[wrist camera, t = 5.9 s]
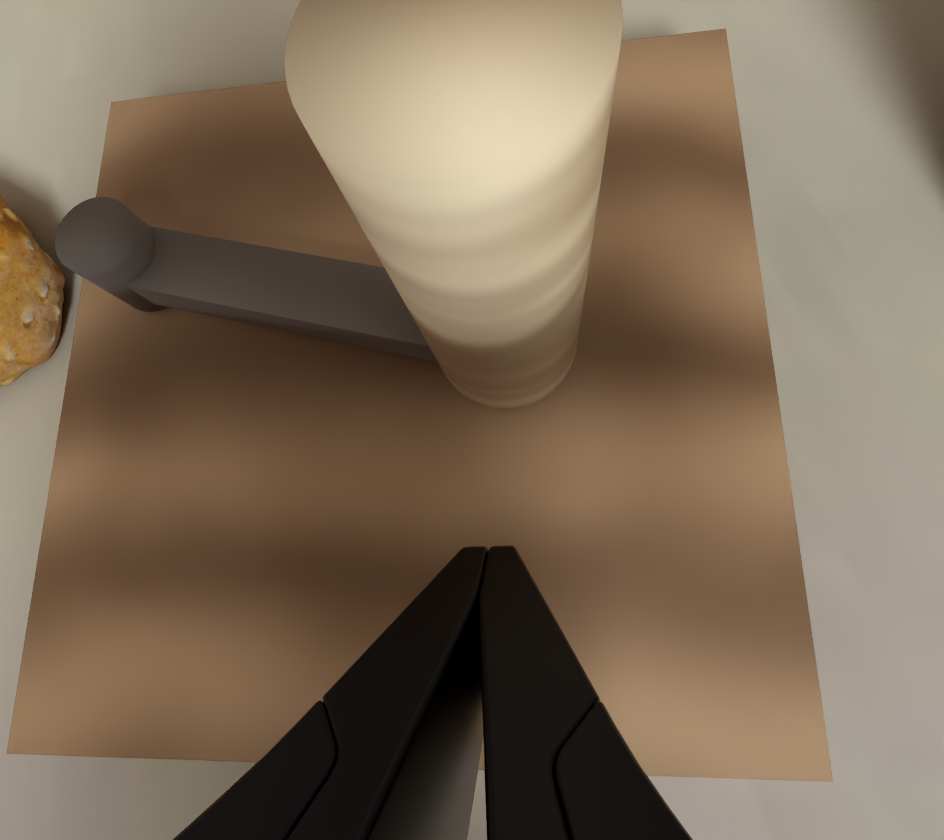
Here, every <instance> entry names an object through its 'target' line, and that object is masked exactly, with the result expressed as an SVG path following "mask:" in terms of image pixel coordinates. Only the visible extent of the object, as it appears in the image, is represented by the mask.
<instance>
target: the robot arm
mask: <svg viewBox="0 0 944 840" xmlns="http://www.w3.org/2000/svg"><path fill="white" fill-rule="evenodd" d="M322 700H323V702H322V701H321V700H319V701H317V702H316V703H315V704H314V705H313V706H312V707H311V708H310V709H309V710H308V712H307V713H306V714H305V715H304V716H303V717H302V718H301V719H300V720H299V721H298V722H297V723H296V724H295V725H294V726H293V727H292V728H291V729H290V730H289V731H288V732H287V733H286V734H285V735H284V736H283V737H282V738H281V739H280V740H279V741H278V742H277V744H276V745H275V746H274V747H273V748H272V749H271V750H270V751H269V752H268V753H267V754H266V755H265V756H264V757H263V758H262V759H260V760H259V761H258V762H257V763H256V764H255V765H254V766H253V767H252V768H251V769H250V770H249V771H248V772H247V773H245V774H244V775H243V776H242V777H241V778H240V779H239V780H238V781H237V782H236V783H235V784H234V785H233V786H232V787H230V788H229V789H228V790H227V791H226V792H225V793H224V794H223V795H222V796H221V797H220V798H219V799H217V800H216V801H215V802H214V803H213V804H212V805H211V806H210V807H209V808H207V809H206V810H205V811H204V812H203V813H202V814H201V815H200V816H199V817H197V818H196V819H195V820H194V821H193V822H192V823H191V824H190V825H189V826H187V827H186V828H185V829H184V830H183V831H182V832H181V833H180V834H179V835H177V836H176V837H175V838H174V839H173V840H467V835H468V829H469V822H470V816H471V810H472V804H473V798H474V792H475V785H476V779H477V773H478V767H479V761H480V755H481V748H482V742H483V739H484V766H485V793H486V820H487V840H692V838H691V837H690V835H689V834H688V833H687V831H686V830H685V829H684V827H683V826H682V825H681V823H680V822H679V820H678V819H677V818H676V816H675V815H674V814H673V812H672V811H671V810H670V808H669V807H668V805H667V804H666V802H665V801H664V800H663V798H662V797H661V795H660V794H659V792H658V791H657V789H656V788H655V787H654V785H653V784H652V782H651V781H650V779H649V778H648V776H647V775H646V774H645V772H644V771H643V769H642V768H641V766H640V765H639V763H638V762H637V760H636V758H635V757H634V755H633V753H632V752H631V750H630V748H629V747H628V745H627V743H626V742H625V740H624V738H623V737H622V735H621V733H620V732H619V730H618V729H617V727H616V725H615V723H614V722H613V720H612V718H611V716H610V714H609V713H608V711H607V709H606V707H605V706H604V704H603V703H602V702H600V698H599V696H598V694H597V692H596V691H595V689H594V687H593V685H592V683H591V682H590V680H589V678H588V676H587V675H586V673H585V671H584V669H583V667H582V666H581V664H580V662H579V660H578V658H577V657H576V655H575V653H574V651H573V649H572V648H571V646H570V644H569V642H568V640H567V639H566V637H565V635H564V633H563V631H562V630H561V628H560V626H559V624H558V622H557V621H556V619H555V617H554V615H553V613H552V612H551V610H550V608H549V606H548V604H547V603H546V601H545V599H544V597H543V595H542V594H541V592H540V590H539V588H538V587H537V585H536V583H535V581H534V579H533V578H532V576H531V574H530V572H529V570H528V569H527V567H526V565H525V563H524V561H523V560H522V558H521V556H520V554H519V552H518V551H517V549H516V548H515V546H513V545H503V546H491V547H490V548H489V550H488V548H487V547H485V546H473V547H463V548H462V549H460V551H459V552H458V553H457V554H456V555H455V556H454V557H453V558H452V559H451V560H450V561H449V562H448V563H447V564H446V565H445V567H444V568H443V569H442V570H441V571H440V572H439V573H438V574H437V575H436V576H435V577H434V578H433V579H432V580H431V581H430V583H429V584H428V585H427V586H426V587H425V588H424V589H423V590H422V591H421V592H420V593H419V594H418V595H417V596H416V597H415V599H414V600H413V601H412V602H411V603H410V604H409V605H408V606H407V607H406V608H405V609H404V610H403V611H402V612H401V614H400V615H399V616H398V617H397V618H396V619H395V620H394V621H393V622H392V623H391V624H390V625H389V626H388V627H387V628H386V630H385V631H384V632H383V633H382V634H381V635H380V636H379V637H378V638H377V639H376V640H375V641H374V642H373V643H372V644H371V646H370V647H369V648H368V649H367V650H366V651H365V652H364V653H363V654H362V655H361V656H360V657H359V658H358V659H357V660H356V662H355V663H354V664H353V665H352V666H351V667H350V668H349V669H348V670H347V671H346V672H345V673H344V674H343V675H342V677H341V678H340V679H339V680H338V681H337V682H336V683H335V684H334V685H333V686H332V687H331V688H330V689H329V690H328V691H327V693H326V694H325V695H324V696H323V698H322Z"/></svg>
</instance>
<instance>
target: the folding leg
mask: <svg viewBox="0 0 944 840" xmlns="http://www.w3.org/2000/svg"><path fill="white" fill-rule="evenodd" d="M622 32H623V9H622V4H621V0H301V1H300V3H299V5H298V7H297V10H296V12H295V14H294V16H293V19H292V22H291V26H290V29H289V32H288V35H287V42H286V49H285V76H286V82H287V89H288V92H289V95H290V98H291V101H292V104H293V106H294V108H295V110H296V112H297V114H298V116H299V118H300V120H301V122H302V123H303V125H304V127H305V129H306V130H307V132H308V134H309V136H310V138H311V139H312V141H313V143H314V145H315V146H316V148H317V150H318V152H319V153H320V155H321V157H322V159H323V160H324V162H325V164H326V166H327V167H328V169H329V171H330V173H331V174H332V176H333V178H334V180H335V182H336V183H337V185H338V187H339V189H340V190H341V192H342V194H343V196H344V197H345V199H346V201H347V203H348V204H349V206H350V208H351V210H352V211H353V213H354V215H355V217H356V218H357V220H358V222H359V224H360V226H361V227H362V229H363V231H364V233H365V234H366V236H367V238H368V240H369V241H370V243H371V245H372V247H373V248H374V250H375V252H376V254H377V255H378V257H379V259H380V261H381V262H382V264H383V266H384V267H379V266H373V265H367V264H362V263H356V262H350V261H345V260H339V259H333V258H328V257H322V256H316V255H310V254H305V253H299V252H293V251H288V250H282V249H276V248H271V247H265V246H259V245H254V244H248V243H242V242H237V241H231V240H225V239H220V238H214V237H208V236H202V235H197V234H191V233H185V232H180V231H174V230H168V229H163V228H157V227H151V226H149V225H148V224H147V223H145V222H144V221H143V220H142V219H140V218H139V217H138V216H137V215H136V214H134V213H133V212H132V211H131V210H130V209H128V208H127V207H126V206H125V205H124V204H122V203H121V202H120V201H118V200H116V199H113V198H109V197H96V198H92V199H88V200H86V201H84V202H82V203H80V204H78V205H77V206H75V207H74V208H73V209H72V210H70V212H69V213H68V214H67V215H66V216H65V217H64V218H63V220H62V222H61V223H60V225H59V227H58V230H57V232H56V236H55V251H56V254H57V257H58V259H59V260H60V262H61V263H62V264H63V265H64V266H65V267H67V268H68V269H70V270H72V271H73V272H75V273H77V274H78V275H80V276H82V277H83V278H85V279H87V280H88V281H90V282H92V283H93V284H95V285H97V286H98V287H100V288H102V289H104V290H105V291H107V292H109V293H110V294H112V295H114V296H115V297H117V298H119V299H120V300H122V301H124V302H125V303H127V304H129V305H130V306H132V307H134V308H135V309H138V310H140V311H144V312H155V311H159V310H162V309H165V308H167V307H171V308H176V309H181V310H186V311H190V312H195V313H200V314H205V315H210V316H215V317H220V318H225V319H230V320H235V321H239V322H244V323H249V324H254V325H259V326H264V327H269V328H274V329H279V330H284V331H289V332H293V333H298V334H303V335H308V336H313V337H318V338H323V339H328V340H333V341H338V342H342V343H347V344H352V345H357V346H362V347H367V348H372V349H377V350H382V351H387V352H391V353H396V354H401V355H406V356H411V357H416V358H421V359H426V360H431V361H436V362H438V363H439V365H440V366H441V368H442V370H443V372H444V373H445V375H446V377H447V379H448V380H449V381H450V383H451V384H452V385H453V386H454V387H455V389H456V390H457V391H458V392H460V393H461V394H462V395H463V396H465V397H466V398H468V399H469V400H471V401H473V402H475V403H477V404H480V405H483V406H486V407H490V408H496V409H514V408H520V407H525V406H528V405H531V404H533V403H536V402H538V401H540V400H542V399H544V398H545V397H547V396H548V395H549V394H551V393H552V392H553V391H554V390H555V389H556V388H558V387H559V385H560V384H561V383H562V382H563V381H564V379H565V378H566V376H567V375H568V373H569V371H570V369H571V367H572V365H573V362H574V359H575V355H576V349H577V343H578V336H579V329H580V322H581V315H582V308H583V301H584V294H585V287H586V280H587V274H588V267H589V260H590V253H591V246H592V239H593V232H594V225H595V218H596V211H597V205H598V198H599V191H600V184H601V177H602V170H603V163H604V156H605V149H606V142H607V136H608V129H609V122H610V115H611V108H612V101H613V94H614V87H615V80H616V73H617V67H618V60H619V53H620V46H621V39H622Z"/></svg>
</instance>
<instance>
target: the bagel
mask: <svg viewBox="0 0 944 840" xmlns="http://www.w3.org/2000/svg"><path fill="white" fill-rule="evenodd" d="M64 284H65V279H64V276H63V274H62V272H61V271H60V270H59V268H58V266H57V265H56V264H55V263H54V261H53V260H52V259H51V257H49V255H48V254H47V253H45V252H43V250H42V249H41V247H40V246H39V244H38V243H37V242H36V241H35V239H34V238H33V233H32V232H31V231H29V230H28V229H27V227H26V225H25V224H24V223H23V222H22V221H21V219H20V218H19V217H18V216H17V215H16V214H15V213H14V212H13V211H12V210H11V209H10V207H9V206H8V205H7V204H6V202H5V201H4V199H3V198H2V197H1V196H0V386H1V385H8V384H11V383H12V382H13V381H14V380H15V379H17V378H18V377H20V376H21V375H22V374H23V373H24V372H26V371H27V369H29V368H31V367H34V366H37V365H39V364H41V363H43V362H45V361H47V360H48V359H49V358H50V356H51V355H52V353H53V352H54V350H55V348H56V345H57V343H58V341H59V337H60V332H61V324H62V323H61V322H62V305H63V301H64V297H63V296H64V295H63V287H64Z"/></svg>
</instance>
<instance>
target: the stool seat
mask: <svg viewBox="0 0 944 840" xmlns="http://www.w3.org/2000/svg"><path fill="white" fill-rule="evenodd" d="M96 197H109V198H113V199H116V200H118V201H120V202H121V203H122V204H124V205H125V206H126V207H127V208H128V209H130V210H131V211H132V212H133V213H134V214H136V215H137V216H138V217H139V218H140V219H142V220H143V221H144V222H145V223H147V224H148V225H149V226H151V227H157V228H163V229H168V230H174V231H180V232H185V233H191V234H197V235H202V236H208V237H214V238H220V239H225V240H231V241H237V242H242V243H248V244H254V245H259V246H265V247H271V248H276V249H282V250H288V251H293V252H299V253H305V254H310V255H316V256H322V257H328V258H333V259H339V260H345V261H350V262H356V263H362V264H367V265H373V266H379V267H384V266H383V264H382V262H381V261H380V259H379V257H378V255H377V254H376V252H375V250H374V248H373V247H372V245H371V243H370V241H369V240H368V238H367V236H366V234H365V233H364V231H363V229H362V227H361V226H360V224H359V222H358V220H357V218H356V217H355V215H354V213H353V211H352V210H351V208H350V206H349V204H348V203H347V201H346V199H345V197H344V196H343V194H342V192H341V190H340V189H339V187H338V185H337V183H336V182H335V180H334V178H333V176H332V174H331V173H330V171H329V169H328V167H327V166H326V164H325V162H324V160H323V159H322V157H321V155H320V153H319V152H318V150H317V148H316V146H315V145H314V143H313V141H312V139H311V138H310V136H309V134H308V132H307V130H306V129H305V127H304V125H303V123H302V122H301V120H300V118H299V116H298V114H297V112H296V110H295V108H294V106H293V104H292V101H291V98H290V95H289V92H288V89H287V82H286V81H284V82H276V83H267V84H259V85H251V86H242V87H234V88H226V89H217V90H209V91H201V92H192V93H184V94H176V95H167V96H159V97H151V98H142V99H134V100H125V101H117V102H111V107H110V114H109V120H108V126H107V132H106V138H105V145H104V151H103V157H102V163H101V170H100V176H99V182H98V188H97V194H96ZM503 545H513V546H515V548H516V549H517V551H518V552H519V554H520V556H521V558H522V560H523V561H524V563H525V565H526V567H527V569H528V570H529V572H530V574H531V576H532V578H533V579H534V581H535V583H536V585H537V587H538V588H539V590H540V592H541V594H542V595H543V597H544V599H545V601H546V603H547V604H548V606H549V608H550V610H551V612H552V613H553V615H554V617H555V619H556V621H557V622H558V624H559V626H560V628H561V630H562V631H563V633H564V635H565V637H566V639H567V640H568V642H569V644H570V646H571V648H572V649H573V651H574V653H575V655H576V657H577V658H578V660H579V662H580V664H581V666H582V667H583V669H584V671H585V673H586V675H587V676H588V678H589V680H590V682H591V683H592V685H593V687H594V689H595V691H596V692H597V694H598V696H599V698H600V702H602V703H603V704H604V706H605V707H606V709H607V711H608V713H609V714H610V716H611V718H612V720H613V722H614V723H615V725H616V727H617V729H618V730H619V732H620V733H621V735H622V737H623V738H624V740H625V742H626V743H627V745H628V747H629V748H630V750H631V752H632V753H633V755H634V757H635V758H636V760H637V762H638V763H639V765H640V766H641V768H642V769H643V771H644V772H645V774H646V775H648V776H677V777H706V778H735V779H764V780H793V781H823V782H833V779H832V772H831V765H830V758H829V751H828V744H827V737H826V730H825V723H824V716H823V708H822V701H821V694H820V687H819V680H818V673H817V666H816V659H815V652H814V645H813V638H812V631H811V624H810V617H809V610H808V603H807V596H806V589H805V582H804V575H803V568H802V561H801V554H800V547H799V540H798V533H797V526H796V519H795V512H794V505H793V498H792V491H791V484H790V477H789V470H788V463H787V456H786V449H785V442H784V435H783V428H782V421H781V414H780V406H779V399H778V392H777V385H776V378H775V371H774V364H773V357H772V350H771V343H770V336H769V329H768V322H767V315H766V308H765V301H764V294H763V287H762V280H761V273H760V266H759V259H758V252H757V245H756V238H755V231H754V224H753V217H752V210H751V203H750V196H749V189H748V182H747V175H746V168H745V161H744V154H743V147H742V140H741V133H740V126H739V119H738V112H737V105H736V97H735V90H734V83H733V76H732V69H731V62H730V55H729V48H728V41H727V34H726V29H718V30H710V31H702V32H693V33H685V34H677V35H668V36H660V37H652V38H643V39H635V40H627V41H621V46H620V53H619V60H618V67H617V73H616V80H615V87H614V94H613V101H612V108H611V115H610V122H609V129H608V136H607V142H606V149H605V156H604V163H603V170H602V177H601V184H600V191H599V198H598V205H597V211H596V218H595V225H594V232H593V239H592V246H591V253H590V260H589V267H588V274H587V280H586V287H585V294H584V301H583V308H582V315H581V322H580V329H579V336H578V343H577V349H576V355H575V359H574V362H573V365H572V367H571V369H570V371H569V373H568V375H567V376H566V378H565V379H564V381H563V382H562V383H561V384H560V385H559V387H558V388H556V389H555V390H554V391H553V392H552V393H551V394H549V395H548V396H547V397H545V398H544V399H542V400H540V401H538V402H536V403H533V404H531V405H528V406H525V407H520V408H514V409H496V408H490V407H486V406H483V405H480V404H477V403H475V402H473V401H471V400H469V399H468V398H466V397H465V396H463V395H462V394H461V393H460V392H458V391H457V390H456V389H455V387H454V386H453V385H452V384H451V383H450V381H449V380H448V379H447V377H446V375H445V373H444V372H443V370H442V368H441V366H440V365H439V363H438V362H436V361H431V360H426V359H421V358H416V357H411V356H406V355H401V354H396V353H391V352H387V351H382V350H377V349H372V348H367V347H362V346H357V345H352V344H347V343H342V342H338V341H333V340H328V339H323V338H318V337H313V336H308V335H303V334H298V333H293V332H289V331H284V330H279V329H274V328H269V327H264V326H259V325H254V324H249V323H244V322H239V321H235V320H230V319H225V318H220V317H215V316H210V315H205V314H200V313H195V312H190V311H186V310H181V309H176V308H171V307H167V308H165V309H162V310H159V311H155V312H144V311H140V310H138V309H135V308H134V307H132V306H130V305H129V304H127V303H125V302H124V301H122V300H120V299H119V298H117V297H115V296H114V295H112V294H110V293H109V292H107V291H105V290H104V289H102V288H100V287H98V286H97V285H95V284H93V283H92V282H90V281H88V280H87V279H85V278H83V281H82V288H81V294H80V300H79V306H78V313H77V319H76V325H75V331H74V337H73V344H72V350H71V356H70V362H69V368H68V375H67V381H66V387H65V393H64V400H63V406H62V412H61V418H60V424H59V431H58V437H57V443H56V449H55V456H54V462H53V468H52V474H51V480H50V487H49V493H48V499H47V505H46V511H45V518H44V524H43V530H42V536H41V543H40V549H39V555H38V561H37V567H36V574H35V580H34V586H33V592H32V599H31V605H30V611H29V617H28V623H27V630H26V636H25V642H24V648H23V654H22V661H21V667H20V673H19V679H18V686H17V692H16V698H15V704H14V710H13V717H12V723H11V729H10V735H9V742H8V748H7V754H35V755H65V756H94V757H123V758H152V759H181V760H210V761H239V762H258V761H259V760H260V759H262V758H263V757H264V756H265V755H266V754H267V753H268V752H269V751H270V750H271V749H272V748H273V747H274V746H275V745H276V744H277V742H278V741H279V740H280V739H281V738H282V737H283V736H284V735H285V734H286V733H287V732H288V731H289V730H290V729H291V728H292V727H293V726H294V725H295V724H296V723H297V722H298V721H299V720H300V719H301V718H302V717H303V716H304V715H305V714H306V713H307V712H308V710H309V709H310V708H311V707H312V706H313V705H314V704H315V703H316V702H317V701H319V700H321V701H322V702H323V700H322V698H323V696H324V695H325V694H326V693H327V691H328V690H329V689H330V688H331V687H332V686H333V685H334V684H335V683H336V682H337V681H338V680H339V679H340V678H341V677H342V675H343V674H344V673H345V672H346V671H347V670H348V669H349V668H350V667H351V666H352V665H353V664H354V663H355V662H356V660H357V659H358V658H359V657H360V656H361V655H362V654H363V653H364V652H365V651H366V650H367V649H368V648H369V647H370V646H371V644H372V643H373V642H374V641H375V640H376V639H377V638H378V637H379V636H380V635H381V634H382V633H383V632H384V631H385V630H386V628H387V627H388V626H389V625H390V624H391V623H392V622H393V621H394V620H395V619H396V618H397V617H398V616H399V615H400V614H401V612H402V611H403V610H404V609H405V608H406V607H407V606H408V605H409V604H410V603H411V602H412V601H413V600H414V599H415V597H416V596H417V595H418V594H419V593H420V592H421V591H422V590H423V589H424V588H425V587H426V586H427V585H428V584H429V583H430V581H431V580H432V579H433V578H434V577H435V576H436V575H437V574H438V573H439V572H440V571H441V570H442V569H443V568H444V567H445V565H446V564H447V563H448V562H449V561H450V560H451V559H452V558H453V557H454V556H455V555H456V554H457V553H458V552H459V551H460V549H462V548H463V547H473V546H485V547H487V548H488V550H489V548H490V547H491V546H503ZM478 770H485V766H484V739H483V742H482V748H481V755H480V761H479V767H478Z"/></svg>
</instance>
